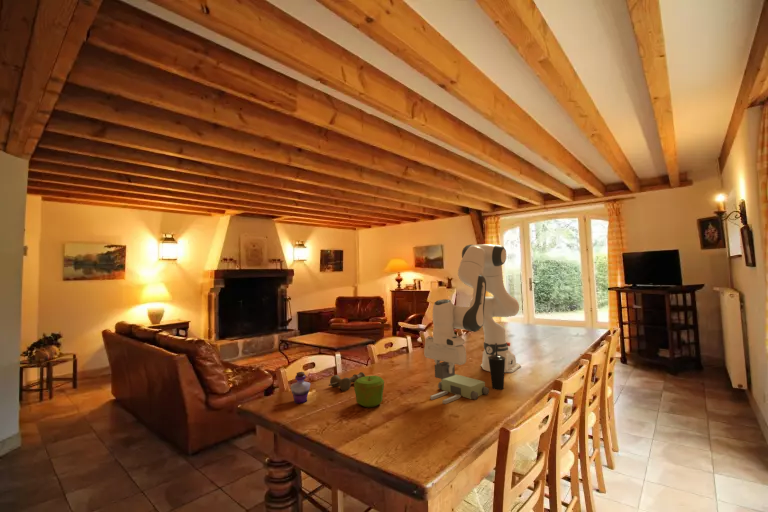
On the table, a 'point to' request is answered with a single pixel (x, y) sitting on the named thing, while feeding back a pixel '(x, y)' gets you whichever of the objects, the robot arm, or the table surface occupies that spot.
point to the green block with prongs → (461, 388)
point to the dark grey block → (443, 370)
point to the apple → (369, 390)
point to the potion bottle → (300, 388)
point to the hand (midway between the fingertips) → (444, 371)
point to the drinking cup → (497, 370)
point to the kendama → (344, 381)
